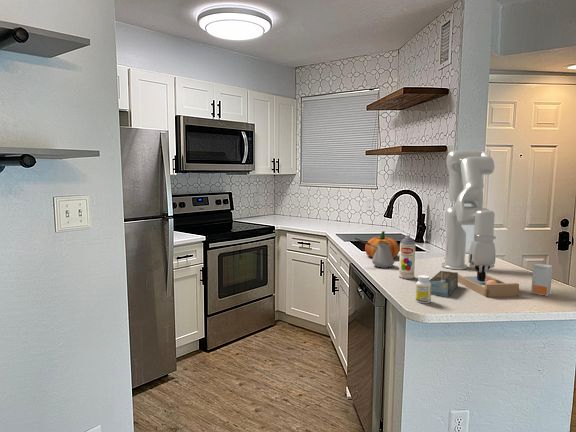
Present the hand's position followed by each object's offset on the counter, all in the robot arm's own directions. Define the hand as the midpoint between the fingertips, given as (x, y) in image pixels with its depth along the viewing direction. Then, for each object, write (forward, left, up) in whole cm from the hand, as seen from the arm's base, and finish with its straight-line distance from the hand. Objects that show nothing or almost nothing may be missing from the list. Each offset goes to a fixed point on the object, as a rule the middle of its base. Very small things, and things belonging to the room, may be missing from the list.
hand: (481, 280), depth 178 cm
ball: (+9, 0, 0) cm, 9 cm away
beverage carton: (+4, -19, -3) cm, 20 cm away
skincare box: (+13, +18, -3) cm, 22 cm away
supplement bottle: (+19, -34, -3) cm, 39 cm away
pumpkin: (-62, -24, -3) cm, 67 cm away
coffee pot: (-40, -35, -3) cm, 54 cm away
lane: (+2, 0, -2) cm, 3 cm away
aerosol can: (-16, -27, -3) cm, 31 cm away
